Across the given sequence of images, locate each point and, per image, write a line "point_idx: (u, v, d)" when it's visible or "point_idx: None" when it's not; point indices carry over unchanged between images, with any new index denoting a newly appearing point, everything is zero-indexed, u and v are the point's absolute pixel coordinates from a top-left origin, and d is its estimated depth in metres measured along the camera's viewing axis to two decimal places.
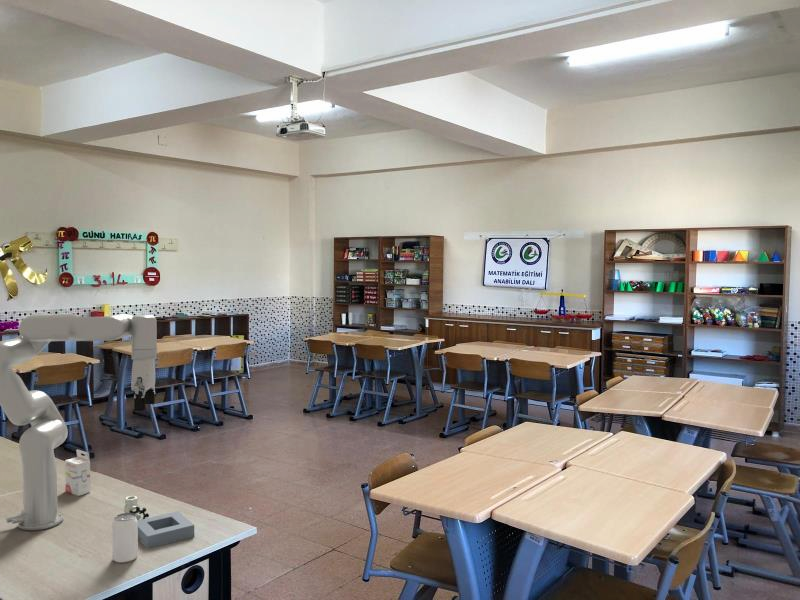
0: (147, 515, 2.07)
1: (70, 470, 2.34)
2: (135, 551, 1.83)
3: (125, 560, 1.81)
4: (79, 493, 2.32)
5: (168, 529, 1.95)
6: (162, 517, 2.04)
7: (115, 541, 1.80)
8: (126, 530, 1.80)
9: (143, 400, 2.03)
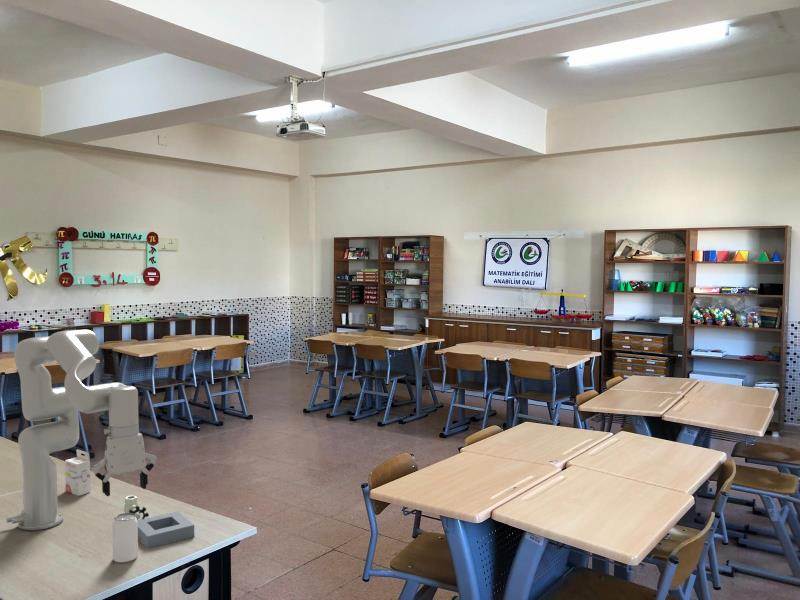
0: (147, 514, 2.07)
1: (70, 470, 2.34)
2: (135, 551, 1.83)
3: (125, 560, 1.81)
4: (79, 493, 2.32)
5: (168, 529, 1.95)
6: (162, 517, 2.04)
7: (115, 541, 1.80)
8: (126, 530, 1.80)
9: None
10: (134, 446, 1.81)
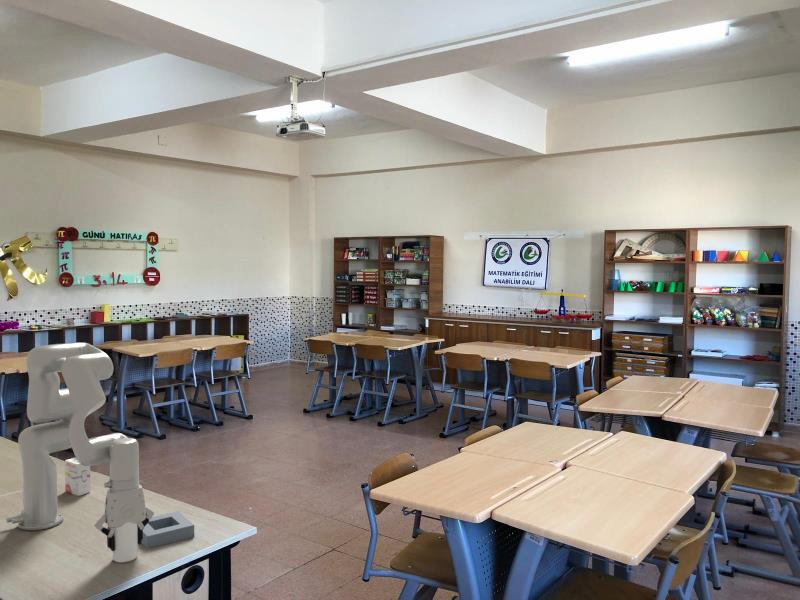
0: (146, 514, 2.08)
1: (70, 470, 2.34)
2: (135, 551, 1.83)
3: (125, 560, 1.81)
4: (79, 493, 2.32)
5: (168, 529, 1.95)
6: (162, 517, 2.04)
7: (115, 540, 1.80)
8: (126, 529, 1.80)
9: None
10: (134, 499, 1.82)
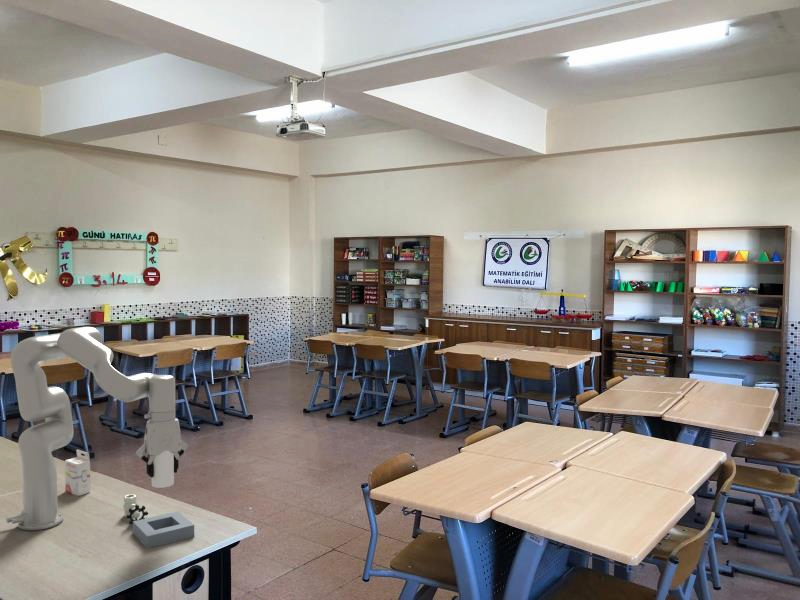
0: (146, 513, 2.08)
1: (70, 470, 2.34)
2: (172, 478, 1.98)
3: (163, 486, 1.96)
4: (79, 493, 2.32)
5: (168, 529, 1.95)
6: (162, 517, 2.04)
7: None
8: (164, 458, 1.96)
9: None
10: (171, 430, 1.97)
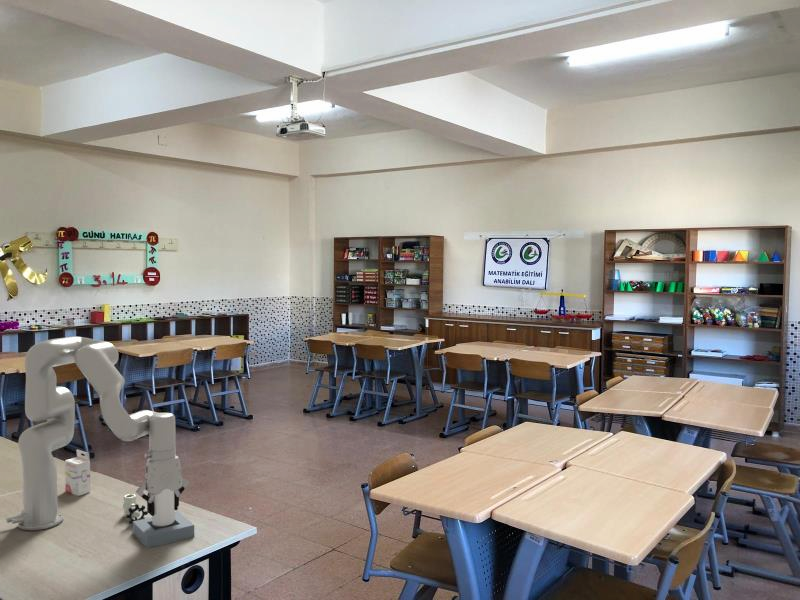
0: (146, 513, 2.09)
1: (70, 470, 2.34)
2: (172, 516, 1.99)
3: (164, 524, 1.97)
4: (79, 493, 2.32)
5: (168, 529, 1.95)
6: None
7: (154, 506, 1.97)
8: (164, 496, 1.97)
9: None
10: (172, 468, 1.98)
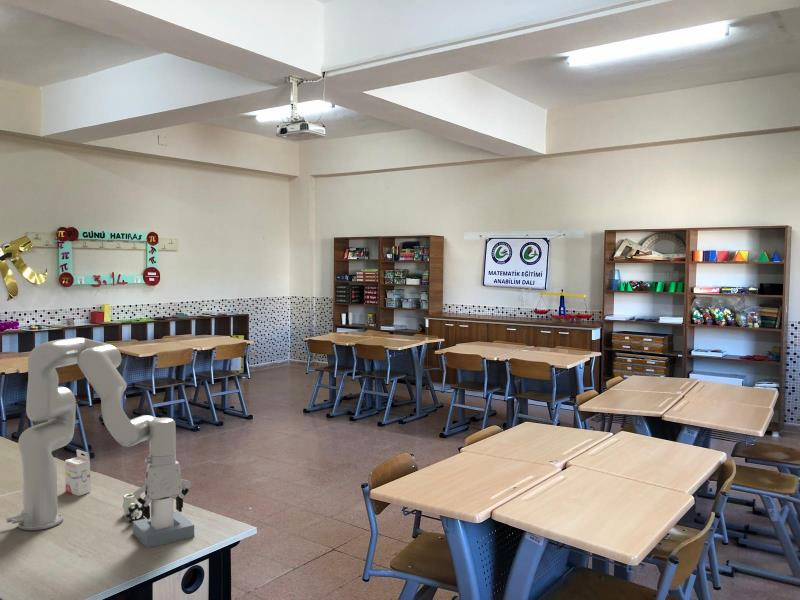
0: None
1: (70, 470, 2.34)
2: None
3: None
4: (79, 493, 2.32)
5: (168, 529, 1.95)
6: None
7: (153, 518, 1.97)
8: (163, 508, 1.97)
9: None
10: (172, 473, 1.98)
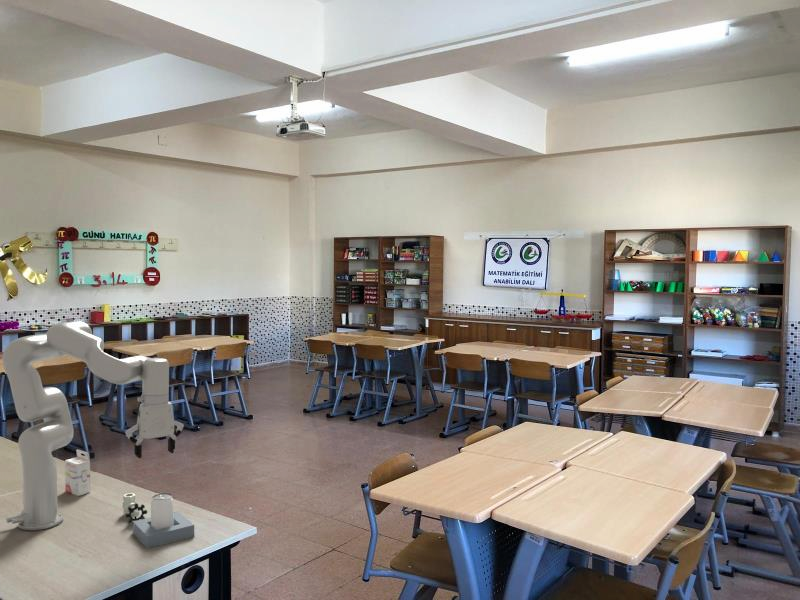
0: (145, 512, 2.09)
1: (70, 470, 2.34)
2: None
3: None
4: (79, 493, 2.32)
5: (168, 529, 1.95)
6: None
7: (153, 518, 1.97)
8: (164, 508, 1.97)
9: None
10: (164, 413, 1.97)
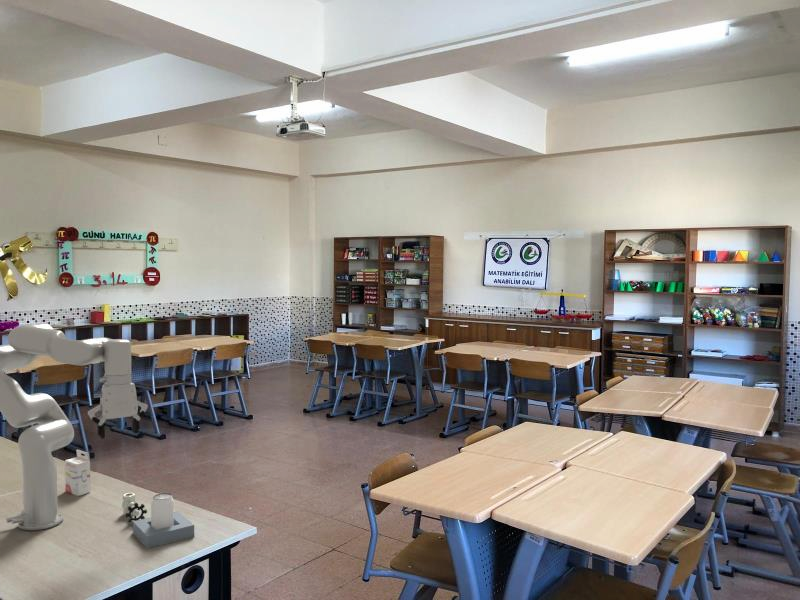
0: (145, 511, 2.10)
1: (70, 470, 2.34)
2: None
3: None
4: (79, 493, 2.32)
5: (168, 529, 1.95)
6: None
7: (153, 518, 1.97)
8: (164, 507, 1.97)
9: None
10: (127, 394, 1.98)
